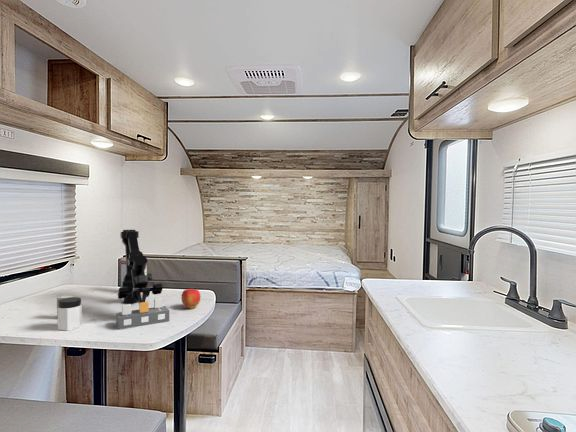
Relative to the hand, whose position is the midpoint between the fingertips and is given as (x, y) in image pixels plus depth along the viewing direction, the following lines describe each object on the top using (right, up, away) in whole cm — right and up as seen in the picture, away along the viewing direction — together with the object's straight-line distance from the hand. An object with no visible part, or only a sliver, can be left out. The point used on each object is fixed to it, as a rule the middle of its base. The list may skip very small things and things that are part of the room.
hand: (143, 306), depth 155 cm
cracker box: (-26, -5, +48) cm, 55 cm away
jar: (-28, -7, -7) cm, 30 cm away
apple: (+15, -7, +23) cm, 28 cm away
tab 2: (+1, -2, -1) cm, 2 cm away
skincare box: (-38, -7, +4) cm, 39 cm away
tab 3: (+5, -2, +6) cm, 7 cm away
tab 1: (-5, -2, -5) cm, 7 cm away
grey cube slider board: (0, -7, 0) cm, 7 cm away
